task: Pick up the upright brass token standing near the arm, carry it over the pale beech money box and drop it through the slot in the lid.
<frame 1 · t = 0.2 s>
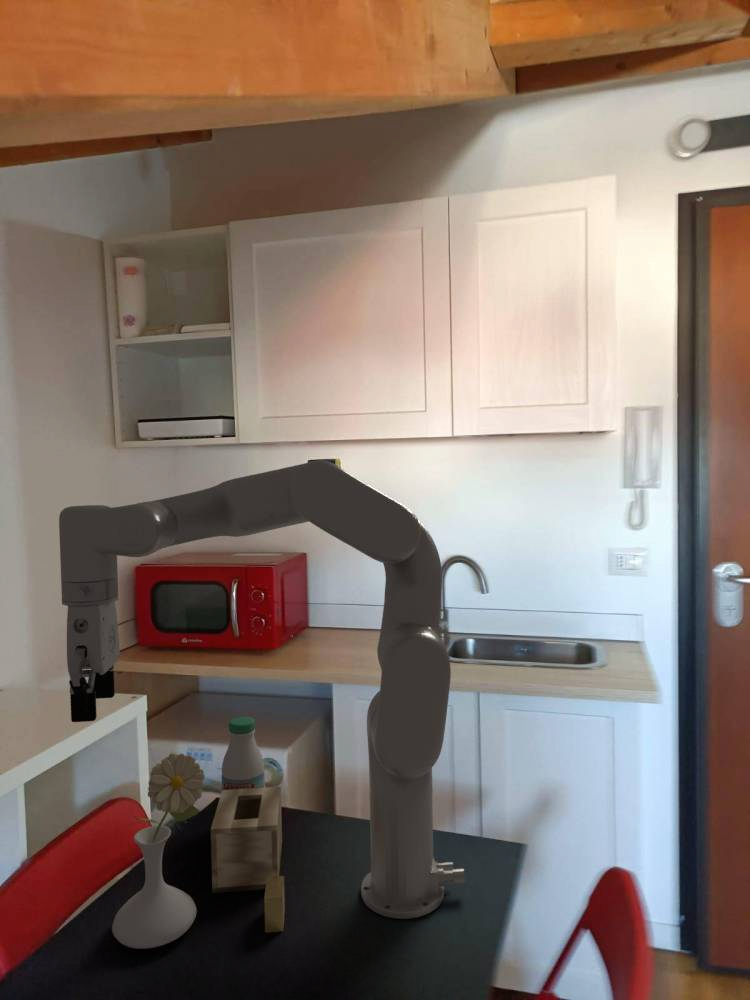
hand: (94, 708, 99), 31 cm above the table, fingers open, 9 cm apart
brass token: (275, 920, 98), on the table
flower in vase: (161, 930, 97), on the table
money box: (249, 866, 112), on the table
milk bottle: (244, 830, 123), on the table
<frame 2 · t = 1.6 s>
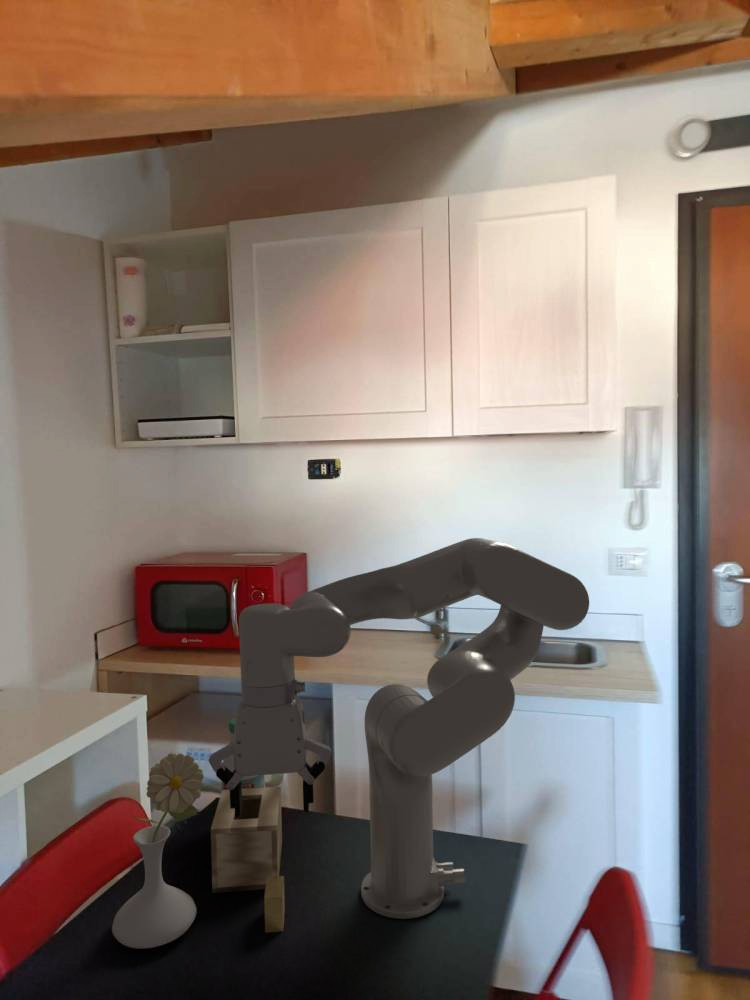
hand: (272, 810, 97), 16 cm above the table, fingers open, 9 cm apart
nothing on the table moved.
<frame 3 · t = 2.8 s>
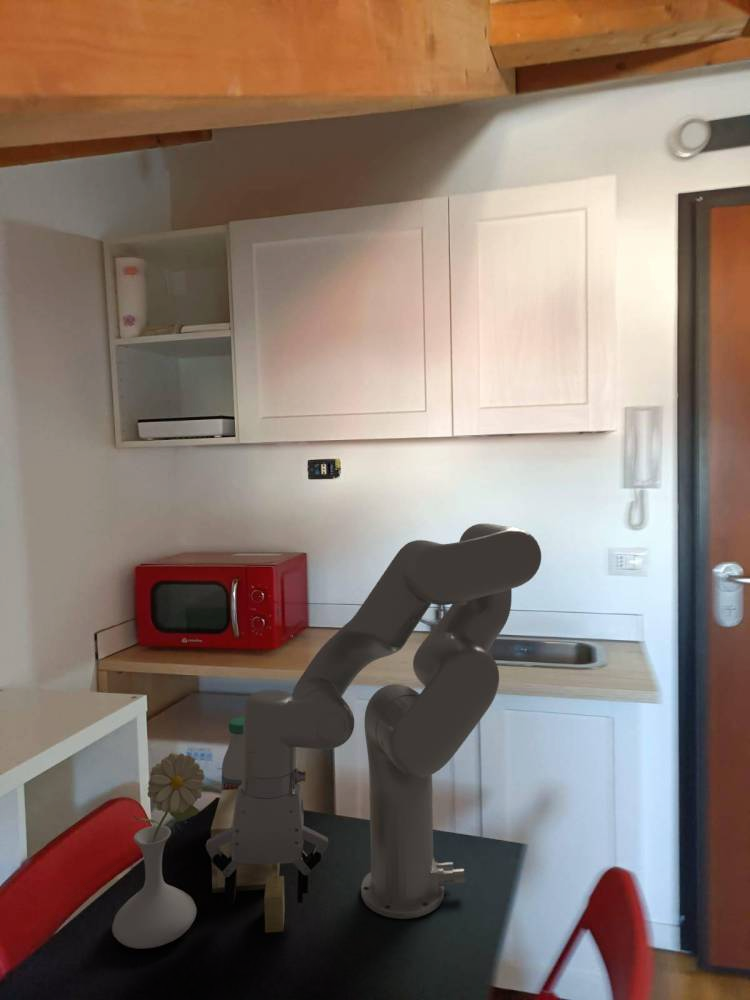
hand: (266, 898, 98), 3 cm above the table, fingers open, 9 cm apart
nothing on the table moved.
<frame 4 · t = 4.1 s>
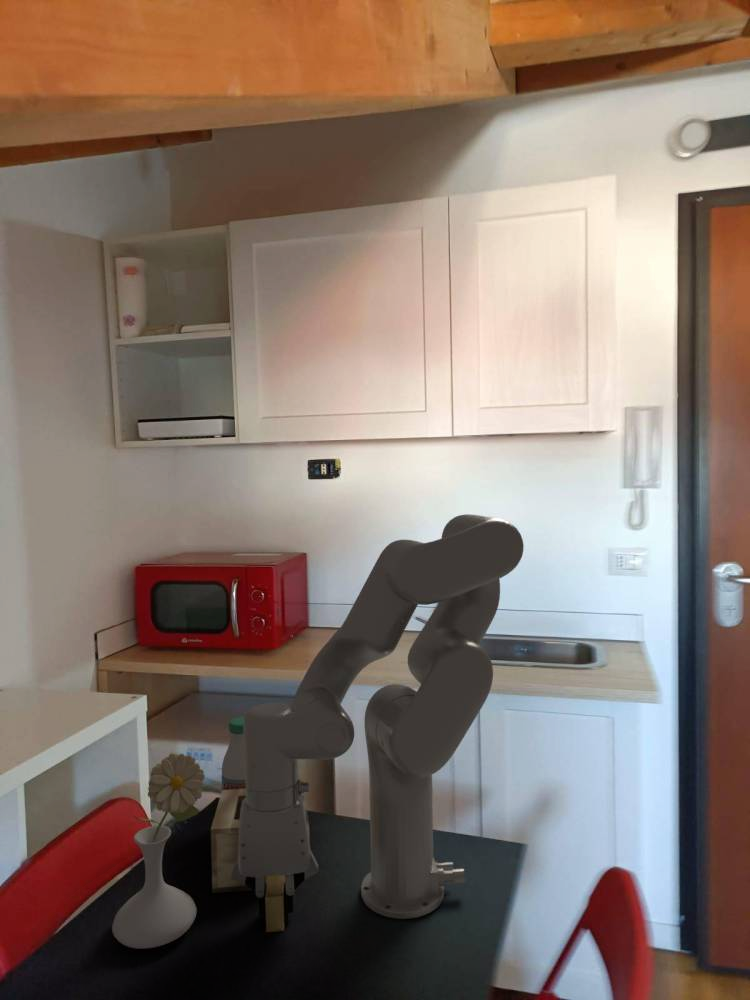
hand: (276, 916, 98), 0 cm above the table, fingers closed on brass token, 2 cm apart
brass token: (276, 919, 98), on the table, touching gripper
everything else where it was.
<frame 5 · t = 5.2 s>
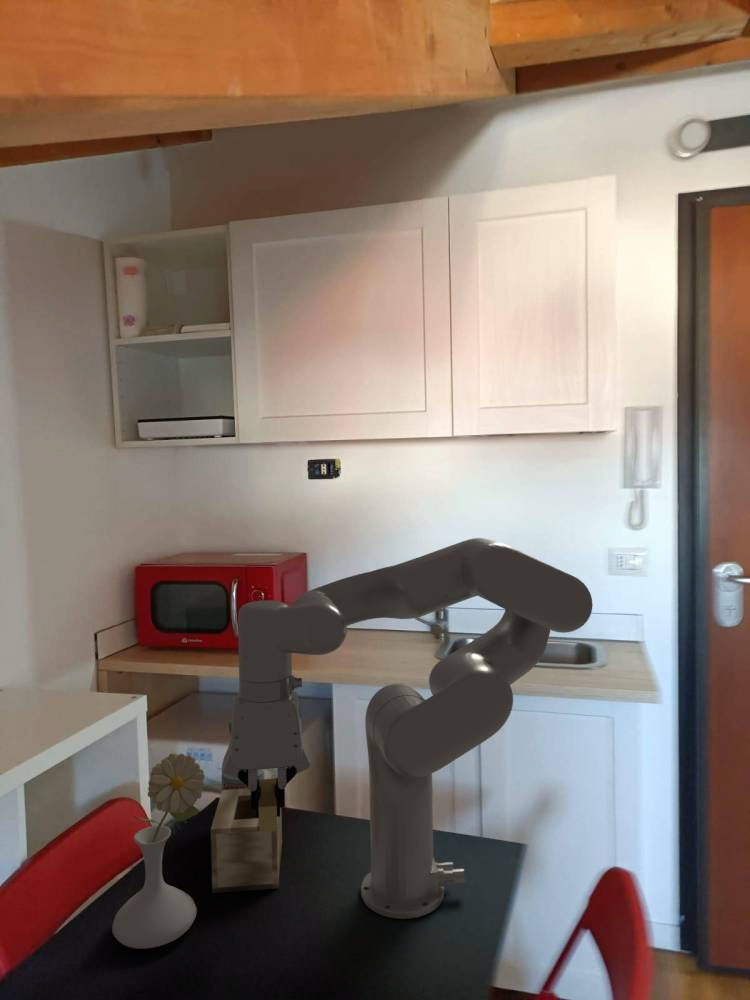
hand: (268, 811, 99), 15 cm above the table, fingers closed on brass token
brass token: (268, 817, 100), point 14 cm above the table, tilted 22°, touching gripper
everything else where it was.
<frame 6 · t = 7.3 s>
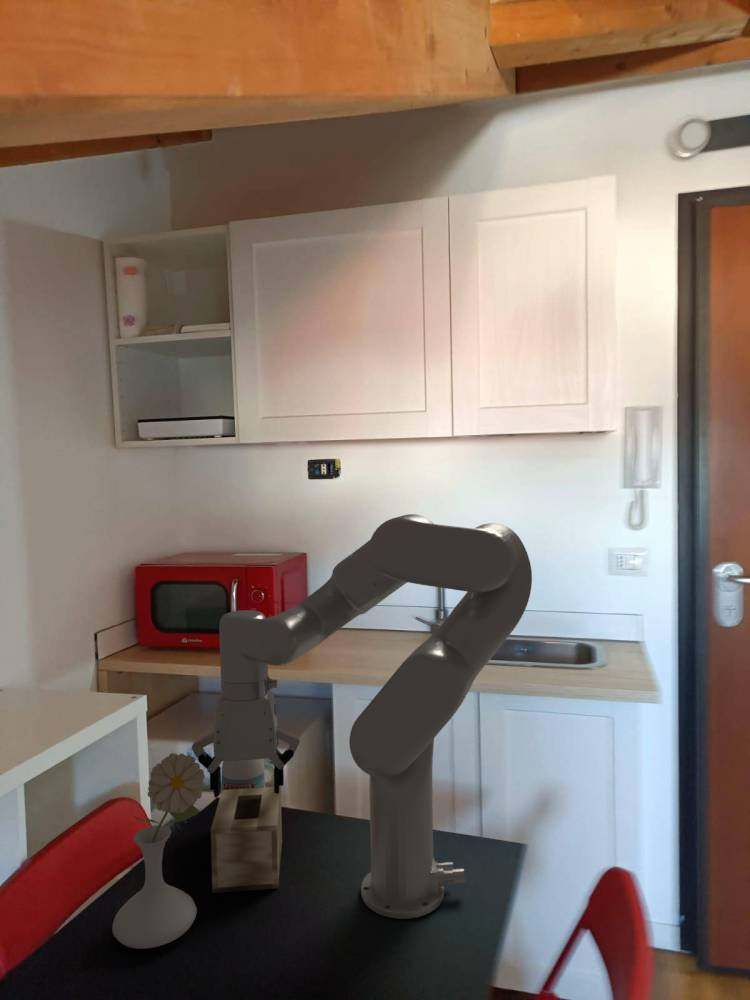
hand: (247, 791, 111), 13 cm above the table, fingers open, 9 cm apart
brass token: (250, 846, 111), point 3 cm above the table, tilted 90°, touching money box
everything else where it was.
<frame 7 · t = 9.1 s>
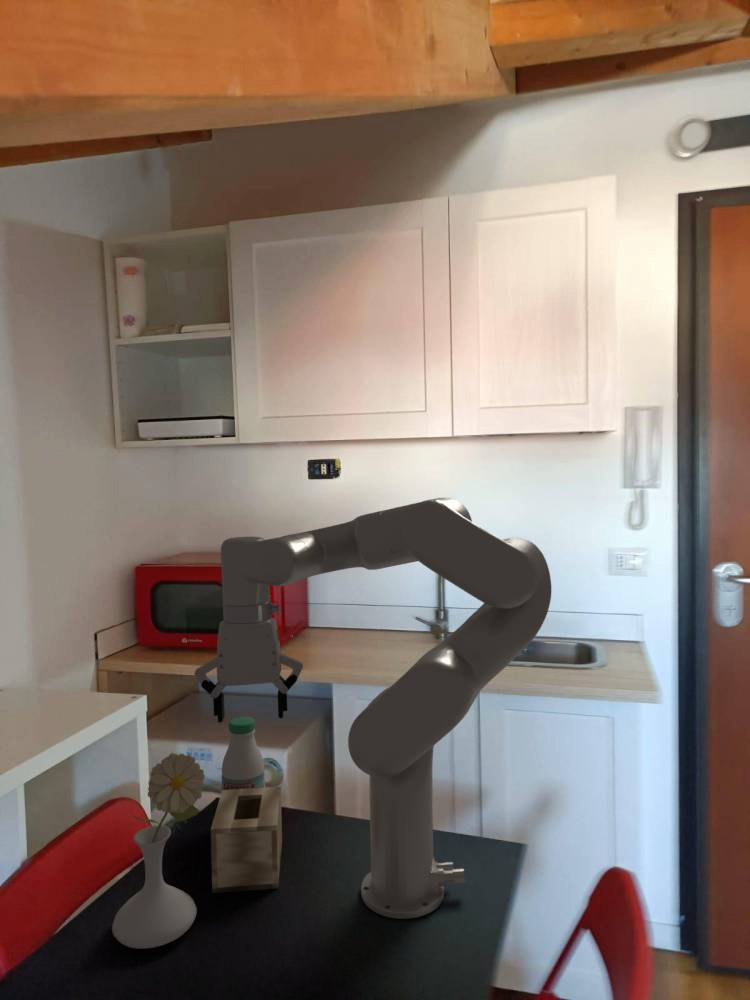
hand: (251, 717, 111), 25 cm above the table, fingers open, 9 cm apart
nothing on the table moved.
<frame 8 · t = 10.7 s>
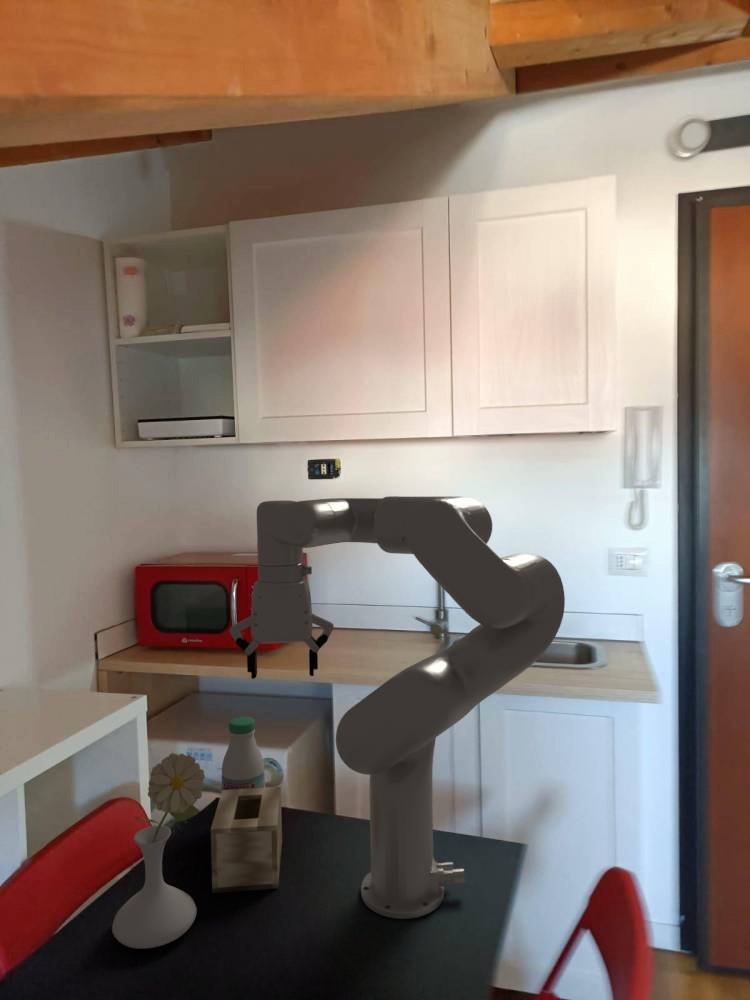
hand: (283, 675, 115), 30 cm above the table, fingers open, 9 cm apart
nothing on the table moved.
at the end: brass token inside the target area on the money box (0.2 cm from its centre), point 3.3 cm above the money box's base; the gripper is holding nothing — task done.
